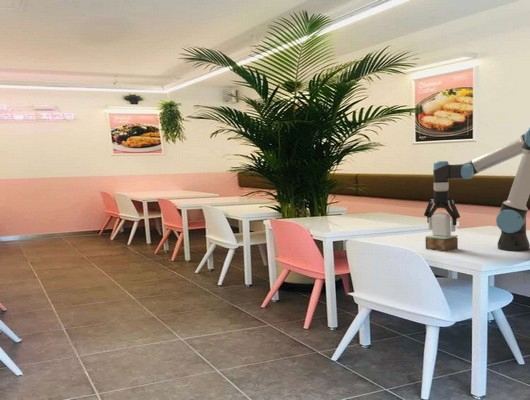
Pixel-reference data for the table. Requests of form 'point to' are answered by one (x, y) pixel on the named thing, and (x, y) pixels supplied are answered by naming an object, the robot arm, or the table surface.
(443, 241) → the box carcass
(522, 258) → the table surface
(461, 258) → the table surface
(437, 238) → the lid
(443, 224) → the photo printer
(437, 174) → the robot arm
